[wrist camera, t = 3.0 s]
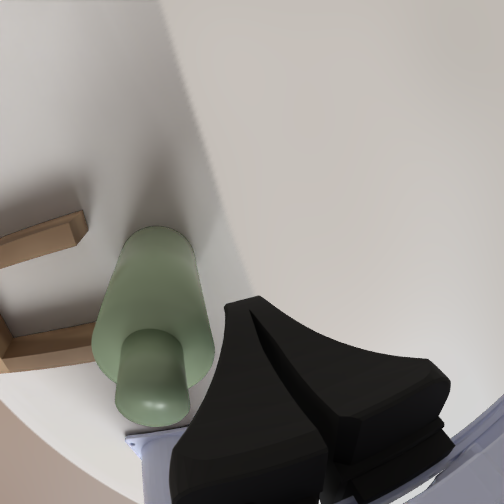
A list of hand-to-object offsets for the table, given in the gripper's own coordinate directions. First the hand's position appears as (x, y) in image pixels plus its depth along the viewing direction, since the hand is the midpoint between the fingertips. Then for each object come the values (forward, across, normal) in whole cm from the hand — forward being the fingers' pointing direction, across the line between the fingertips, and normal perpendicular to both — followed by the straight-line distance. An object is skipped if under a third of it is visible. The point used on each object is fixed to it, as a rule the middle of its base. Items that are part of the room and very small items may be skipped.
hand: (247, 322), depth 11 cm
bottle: (+7, +4, 0) cm, 8 cm away
